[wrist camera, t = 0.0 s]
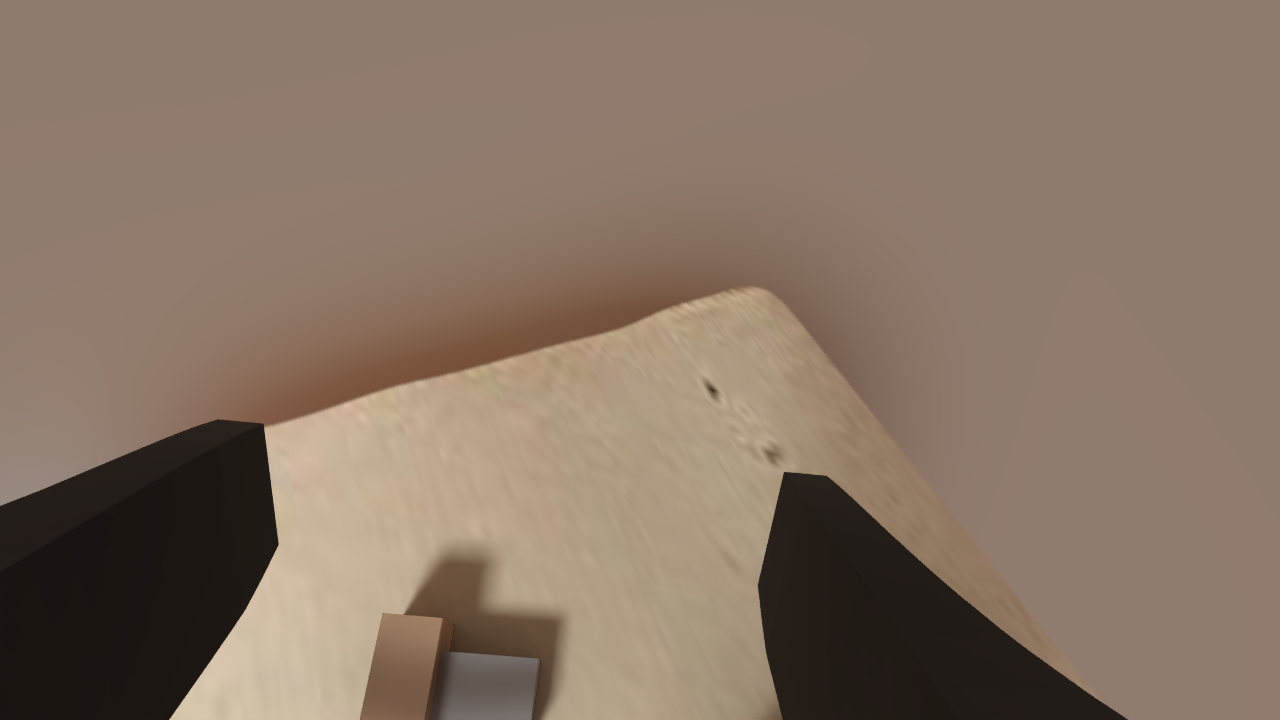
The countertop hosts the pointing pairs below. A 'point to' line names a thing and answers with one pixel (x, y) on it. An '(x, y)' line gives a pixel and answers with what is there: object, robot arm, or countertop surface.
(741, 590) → the countertop surface
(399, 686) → the spice rail
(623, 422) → the countertop surface
